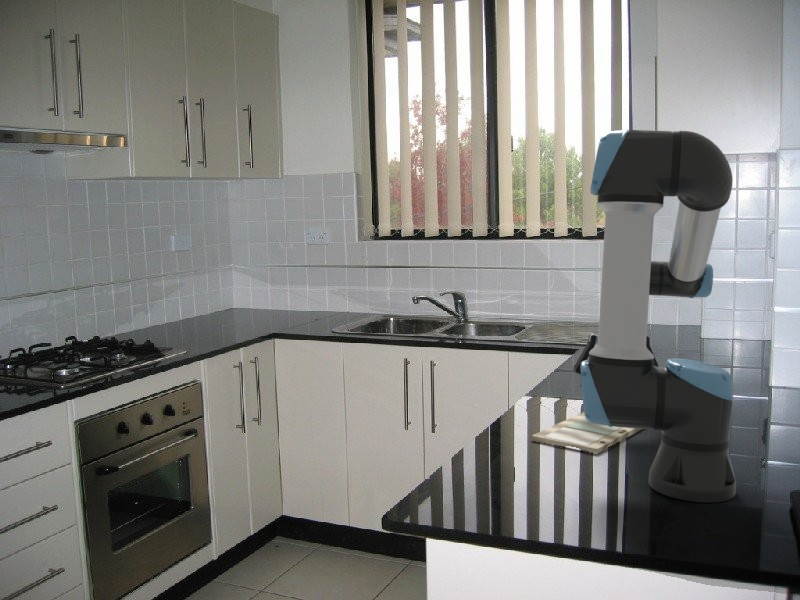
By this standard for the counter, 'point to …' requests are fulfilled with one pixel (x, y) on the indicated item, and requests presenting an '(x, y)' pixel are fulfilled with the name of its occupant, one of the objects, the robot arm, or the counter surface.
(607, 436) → the board
